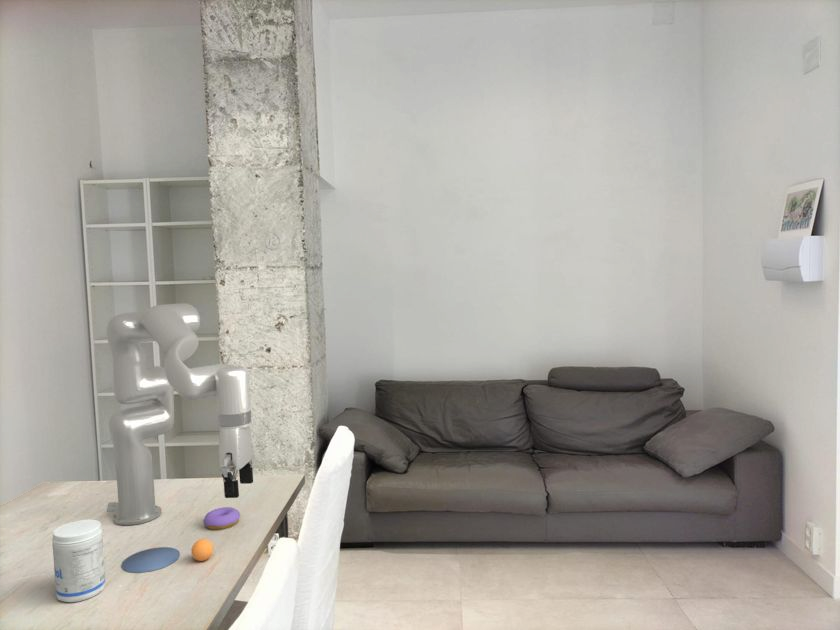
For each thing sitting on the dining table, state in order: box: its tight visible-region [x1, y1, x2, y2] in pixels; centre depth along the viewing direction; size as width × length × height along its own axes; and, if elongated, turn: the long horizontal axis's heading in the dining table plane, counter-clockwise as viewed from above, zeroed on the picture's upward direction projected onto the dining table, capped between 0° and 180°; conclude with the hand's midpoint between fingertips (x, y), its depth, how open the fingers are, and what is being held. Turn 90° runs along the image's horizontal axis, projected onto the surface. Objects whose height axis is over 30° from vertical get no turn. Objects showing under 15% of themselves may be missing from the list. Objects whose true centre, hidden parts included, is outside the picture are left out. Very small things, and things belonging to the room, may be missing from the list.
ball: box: [190, 538, 214, 562], centre depth 150 cm, size 5×5×5 cm
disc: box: [121, 546, 181, 574], centre depth 151 cm, size 13×13×1 cm
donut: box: [203, 506, 241, 531], centre depth 172 cm, size 10×9×5 cm
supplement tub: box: [51, 519, 106, 603], centre depth 136 cm, size 10×10×15 cm
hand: (239, 490), depth 149 cm, fingers open, 9 cm apart
